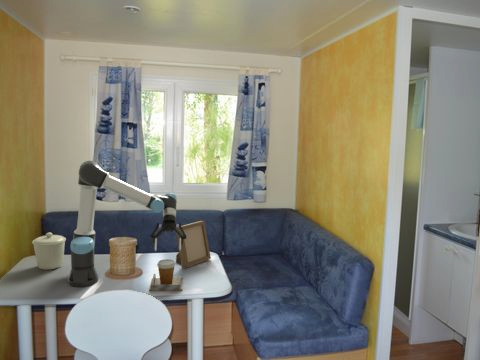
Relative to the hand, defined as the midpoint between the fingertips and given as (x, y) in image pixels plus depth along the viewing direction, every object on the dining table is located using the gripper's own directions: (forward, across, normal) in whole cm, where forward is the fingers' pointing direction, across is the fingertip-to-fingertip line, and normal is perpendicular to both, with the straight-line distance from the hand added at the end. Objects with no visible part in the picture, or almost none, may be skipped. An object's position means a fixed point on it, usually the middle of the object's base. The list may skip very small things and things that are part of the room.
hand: (167, 249), depth 220 cm
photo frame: (-7, -13, -30) cm, 34 cm away
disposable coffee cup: (+18, 0, -5) cm, 19 cm away
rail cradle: (+19, 0, -5) cm, 19 cm away
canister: (-3, +70, -28) cm, 76 cm away
